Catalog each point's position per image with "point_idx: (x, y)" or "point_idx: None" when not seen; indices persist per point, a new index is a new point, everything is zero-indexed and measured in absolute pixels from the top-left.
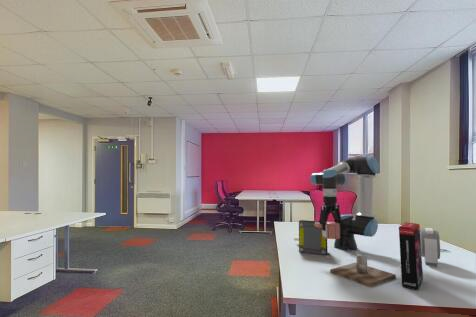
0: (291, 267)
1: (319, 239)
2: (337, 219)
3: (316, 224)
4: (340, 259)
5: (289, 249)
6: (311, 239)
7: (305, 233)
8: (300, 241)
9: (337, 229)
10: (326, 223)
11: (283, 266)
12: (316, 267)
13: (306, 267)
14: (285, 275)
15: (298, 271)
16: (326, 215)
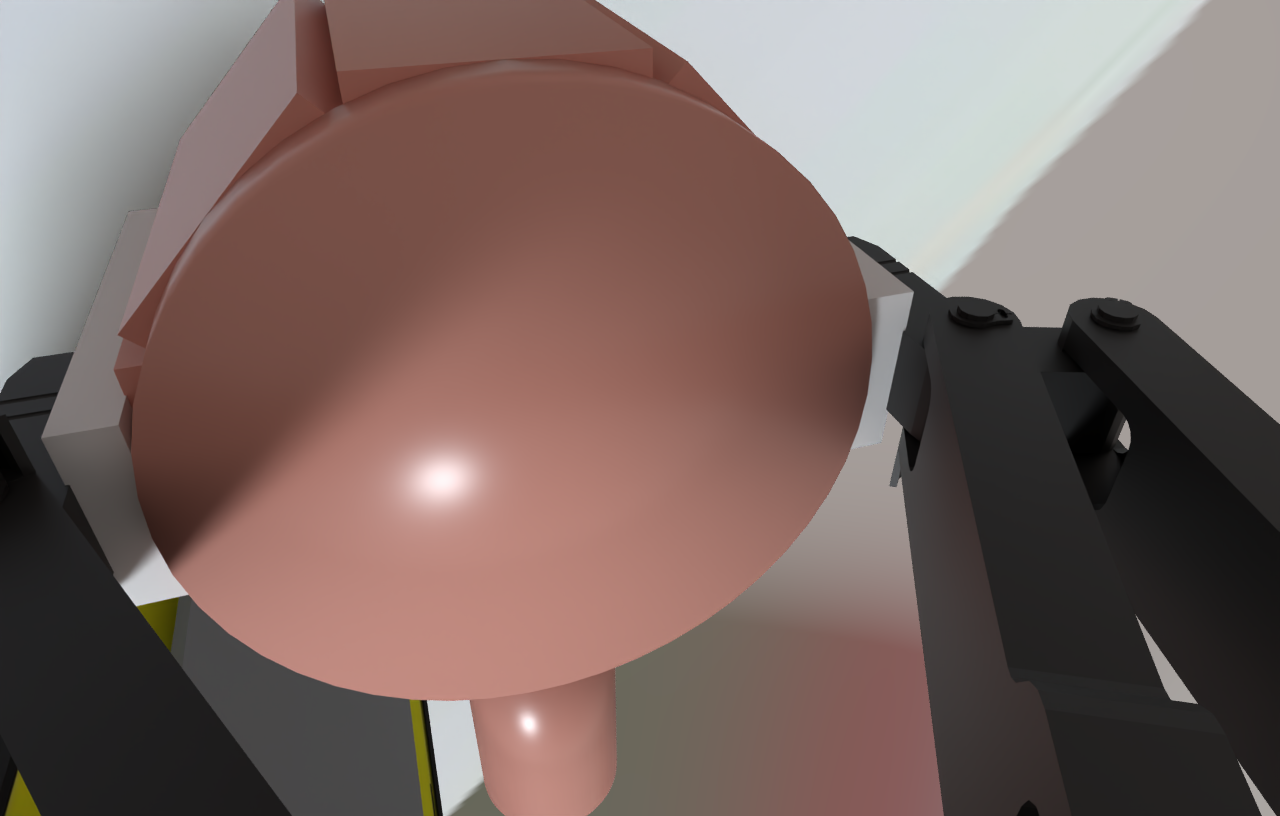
0: (929, 199)
1: (205, 647)
2: (81, 575)
3: (615, 717)
4: (9, 179)
5: (460, 703)
6: (319, 689)
7: (401, 801)
8: (415, 727)
9: (485, 21)
10: (774, 427)
11: (961, 260)
12: (700, 54)
13: (803, 119)
14: (1176, 17)
15: (987, 49)
16: (1105, 608)
